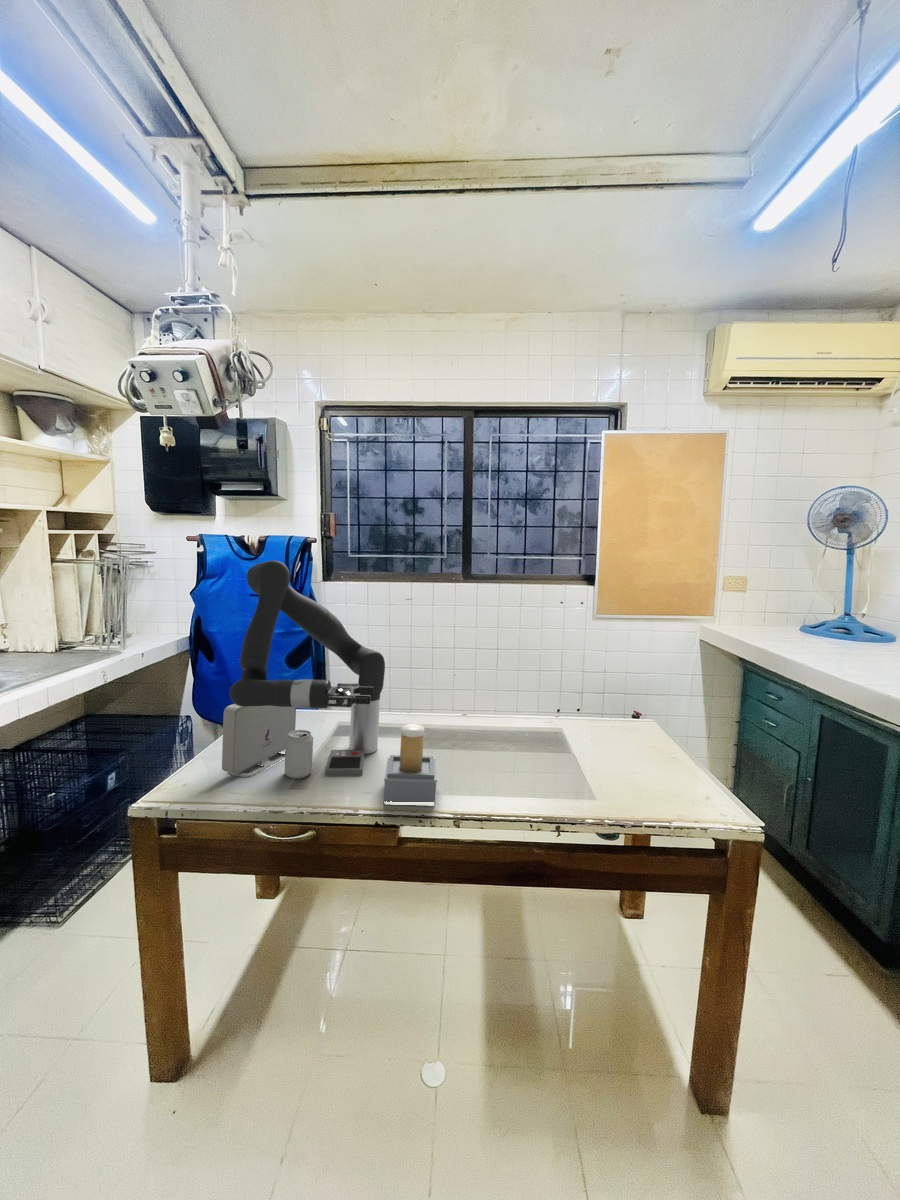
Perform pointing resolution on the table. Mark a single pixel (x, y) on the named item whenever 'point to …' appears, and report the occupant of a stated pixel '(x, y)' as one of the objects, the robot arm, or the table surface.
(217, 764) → the table surface
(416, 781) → the grey case
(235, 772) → the network device
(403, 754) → the glass of beer
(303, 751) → the can
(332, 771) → the electronic device
